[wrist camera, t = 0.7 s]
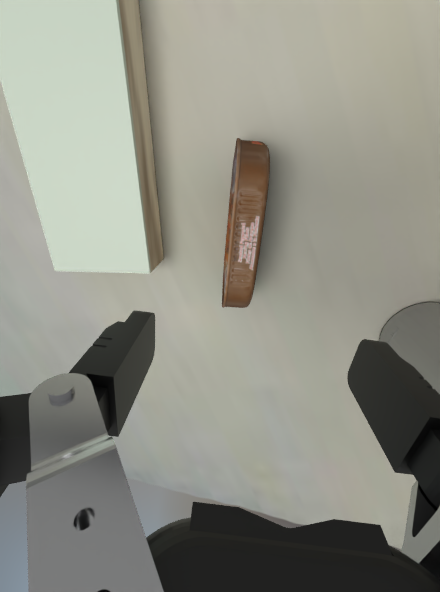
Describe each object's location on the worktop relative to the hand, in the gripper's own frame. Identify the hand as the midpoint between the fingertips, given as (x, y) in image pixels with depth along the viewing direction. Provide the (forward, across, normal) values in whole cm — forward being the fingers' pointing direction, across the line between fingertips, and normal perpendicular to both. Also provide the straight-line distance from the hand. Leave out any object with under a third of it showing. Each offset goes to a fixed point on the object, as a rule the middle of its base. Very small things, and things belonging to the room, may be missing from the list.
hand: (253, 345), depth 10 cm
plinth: (+21, +15, -7) cm, 26 cm away
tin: (+21, 0, -1) cm, 21 cm away
